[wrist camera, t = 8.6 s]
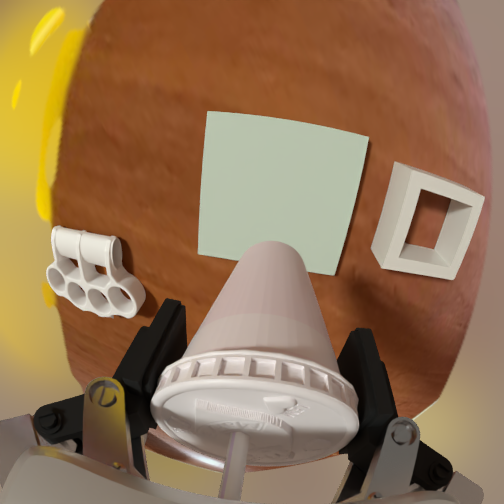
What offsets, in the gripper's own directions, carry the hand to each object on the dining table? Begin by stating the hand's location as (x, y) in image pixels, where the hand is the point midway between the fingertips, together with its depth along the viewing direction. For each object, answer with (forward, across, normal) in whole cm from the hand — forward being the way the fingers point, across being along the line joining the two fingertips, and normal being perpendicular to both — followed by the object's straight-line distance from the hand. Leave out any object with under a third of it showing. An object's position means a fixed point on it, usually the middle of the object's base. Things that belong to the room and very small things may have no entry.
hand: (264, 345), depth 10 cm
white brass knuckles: (+21, +25, +15) cm, 36 cm away
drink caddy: (+21, -17, -1) cm, 27 cm away
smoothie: (+6, 0, 0) cm, 6 cm away
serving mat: (+21, 0, 0) cm, 21 cm away
